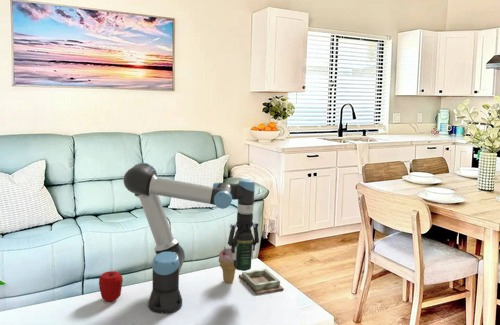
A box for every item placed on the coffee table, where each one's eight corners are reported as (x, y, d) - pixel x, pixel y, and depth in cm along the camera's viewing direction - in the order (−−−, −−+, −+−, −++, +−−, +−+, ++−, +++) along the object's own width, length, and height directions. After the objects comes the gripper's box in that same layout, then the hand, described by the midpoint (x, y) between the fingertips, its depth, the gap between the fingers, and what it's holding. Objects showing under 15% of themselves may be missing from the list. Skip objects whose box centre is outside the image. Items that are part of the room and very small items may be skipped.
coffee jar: (252, 271, 202) (255, 233, 199) (236, 272, 200) (238, 234, 197) (247, 262, 211) (249, 226, 208) (231, 263, 209) (233, 227, 206)
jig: (256, 294, 208) (256, 288, 207) (238, 276, 227) (239, 270, 227) (283, 290, 214) (283, 283, 213) (264, 272, 234) (264, 266, 233)
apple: (125, 301, 196) (125, 274, 193) (102, 306, 190) (101, 278, 188) (119, 292, 205) (119, 265, 202) (97, 296, 199) (96, 269, 197)
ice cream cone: (236, 287, 215) (237, 249, 211) (215, 284, 217) (216, 247, 214) (241, 278, 225) (242, 242, 222) (221, 275, 227) (222, 239, 224)
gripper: (227, 216, 193) (225, 263, 197) (268, 212, 202) (265, 258, 206) (221, 211, 200) (219, 257, 204) (261, 208, 209) (258, 252, 212)
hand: (242, 257), depth 205 cm, fingers closed on coffee jar, 8 cm apart
